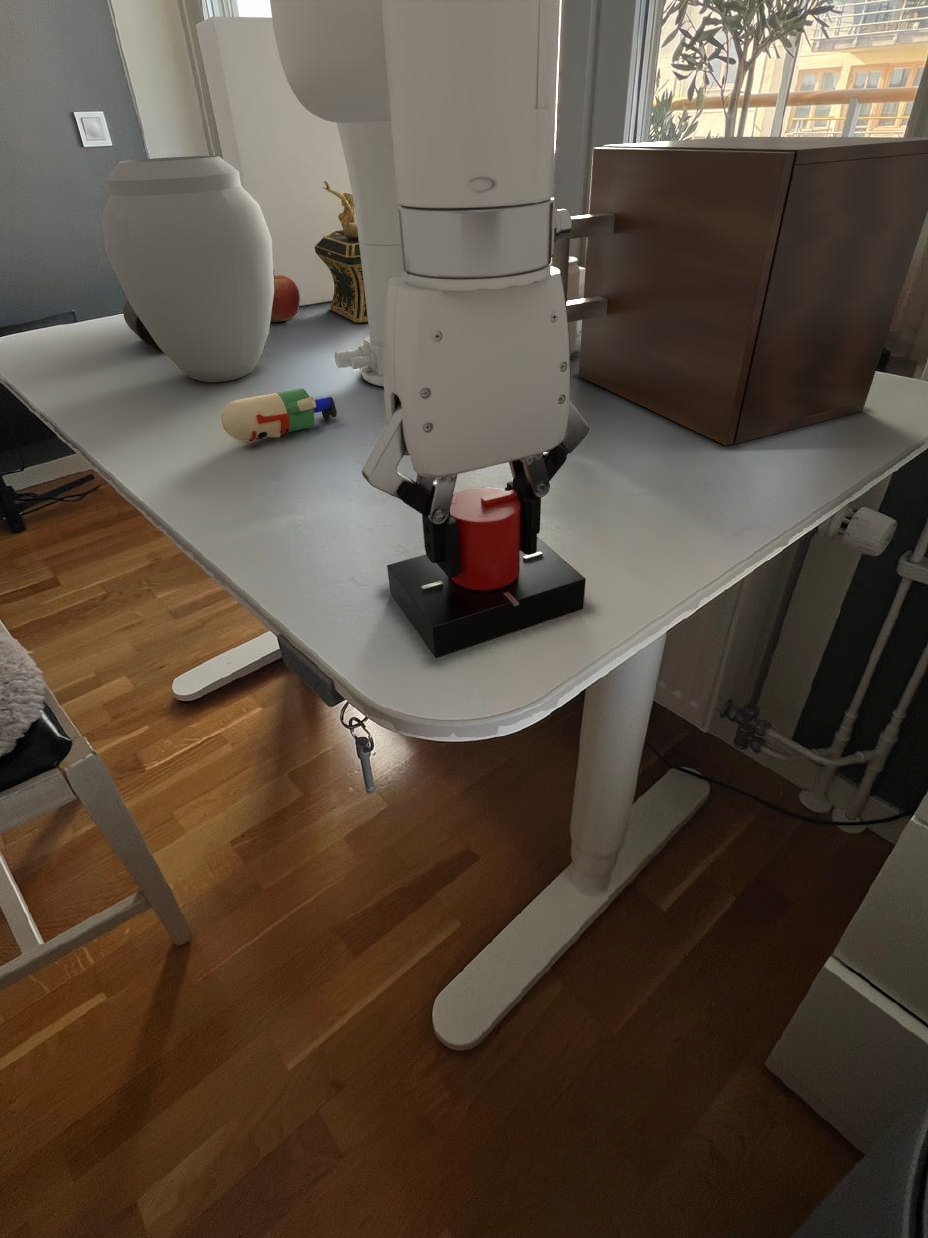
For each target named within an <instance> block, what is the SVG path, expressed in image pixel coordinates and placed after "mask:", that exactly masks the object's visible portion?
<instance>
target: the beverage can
mask: <svg viewBox="0 0 928 1238" xmlns="http://www.w3.org/2000/svg"><path fill="white" fill-rule="evenodd" d="M578 260H579V259H578V258H577V257H575V256H570V255H569V268H568V287H567V301H571V300H578V299H579V281H580V268H579V267H580V266H578V265H577V263H578V262H579V261H578ZM551 266H552V257H551ZM567 324H568V335H569V356H570V357H571V355H572V354H574V353H575V352H576V348H577V332H578V321H572V322H567Z"/></svg>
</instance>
